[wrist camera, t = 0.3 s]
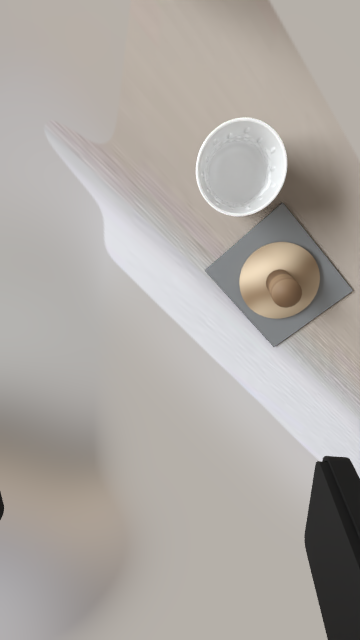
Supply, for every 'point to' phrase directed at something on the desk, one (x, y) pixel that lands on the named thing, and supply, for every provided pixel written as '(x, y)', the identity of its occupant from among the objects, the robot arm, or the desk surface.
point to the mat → (269, 230)
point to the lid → (279, 280)
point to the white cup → (241, 166)
